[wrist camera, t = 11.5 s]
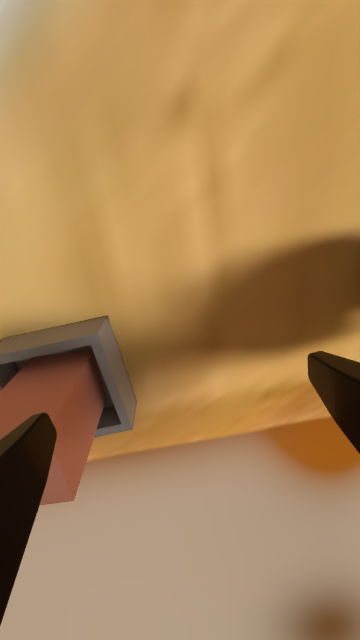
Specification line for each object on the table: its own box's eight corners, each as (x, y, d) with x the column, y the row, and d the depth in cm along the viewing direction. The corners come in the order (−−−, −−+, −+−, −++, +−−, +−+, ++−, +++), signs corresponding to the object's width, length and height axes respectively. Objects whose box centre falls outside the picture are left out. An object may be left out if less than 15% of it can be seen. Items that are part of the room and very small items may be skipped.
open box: (107, 315, 21) (97, 333, 18) (136, 401, 25) (132, 429, 21) (2, 338, 22) (-26, 360, 18) (46, 420, 25) (28, 450, 22)
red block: (92, 349, 21) (47, 435, 13) (106, 398, 23) (73, 500, 15) (32, 357, 21) (-54, 448, 13) (50, 405, 23) (-14, 512, 15)
